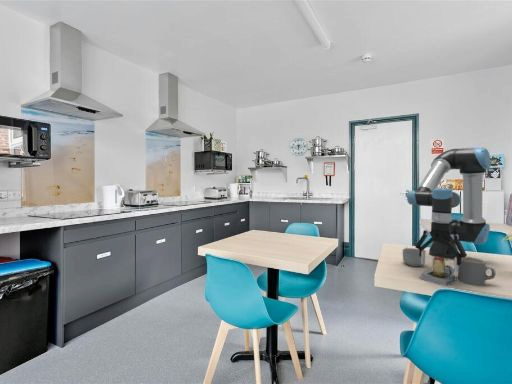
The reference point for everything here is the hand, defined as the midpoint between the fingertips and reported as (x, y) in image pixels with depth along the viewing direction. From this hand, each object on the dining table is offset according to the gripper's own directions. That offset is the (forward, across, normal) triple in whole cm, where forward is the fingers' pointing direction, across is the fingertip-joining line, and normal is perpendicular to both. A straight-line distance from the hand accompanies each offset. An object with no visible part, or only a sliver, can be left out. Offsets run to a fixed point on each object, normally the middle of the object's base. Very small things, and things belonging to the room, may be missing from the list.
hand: (438, 267), depth 129 cm
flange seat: (+6, 0, +3) cm, 6 cm away
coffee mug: (+6, +11, +11) cm, 17 cm away
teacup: (+6, -19, +16) cm, 25 cm away
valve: (+5, 0, 0) cm, 5 cm away
